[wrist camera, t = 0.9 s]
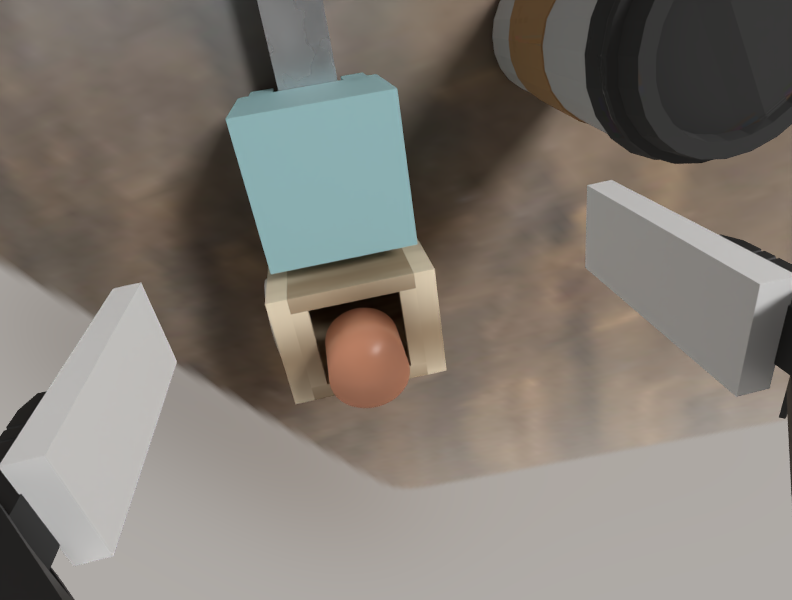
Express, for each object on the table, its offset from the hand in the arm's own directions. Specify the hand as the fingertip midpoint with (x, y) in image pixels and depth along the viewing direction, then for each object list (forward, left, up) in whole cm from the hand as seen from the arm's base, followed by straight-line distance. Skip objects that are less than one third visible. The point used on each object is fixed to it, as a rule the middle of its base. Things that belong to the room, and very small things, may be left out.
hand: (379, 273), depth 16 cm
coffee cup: (-4, +13, -17) cm, 22 cm away
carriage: (0, -1, -17) cm, 17 cm away
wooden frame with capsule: (+7, -1, -17) cm, 18 cm away
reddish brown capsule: (+7, -1, -8) cm, 11 cm away
